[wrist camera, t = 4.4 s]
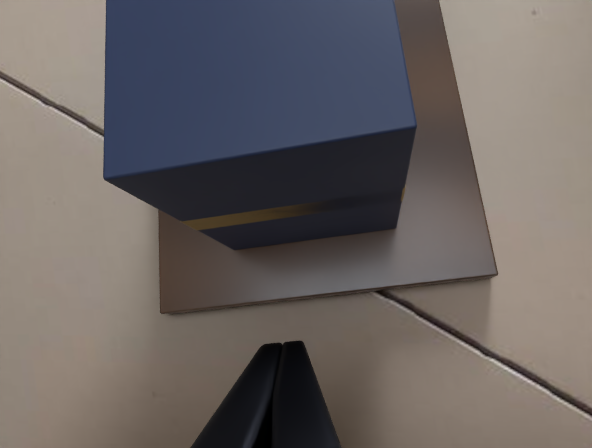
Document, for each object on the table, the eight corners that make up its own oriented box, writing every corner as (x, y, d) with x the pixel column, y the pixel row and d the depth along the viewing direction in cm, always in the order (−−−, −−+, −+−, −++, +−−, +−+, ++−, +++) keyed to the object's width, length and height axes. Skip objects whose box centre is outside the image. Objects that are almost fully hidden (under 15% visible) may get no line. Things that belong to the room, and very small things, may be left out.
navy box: (397, 228, 15) (419, 126, 7) (232, 250, 16) (100, 180, 8) (359, -8, 18) (346, -267, 10) (218, 23, 18) (107, -193, 11)
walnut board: (492, 278, 15) (498, 275, 14) (169, 314, 17) (159, 313, 16) (394, -182, 20) (395, -202, 20) (159, -118, 22) (152, -134, 21)
